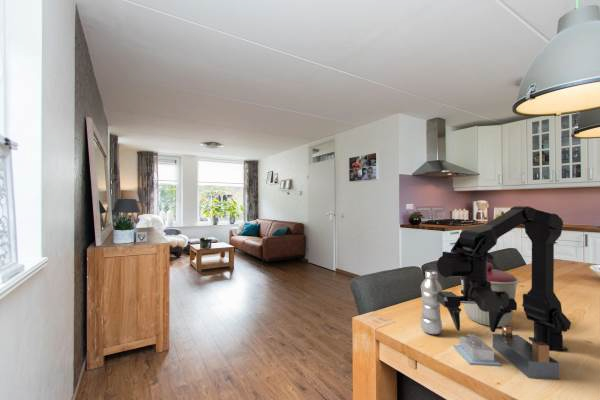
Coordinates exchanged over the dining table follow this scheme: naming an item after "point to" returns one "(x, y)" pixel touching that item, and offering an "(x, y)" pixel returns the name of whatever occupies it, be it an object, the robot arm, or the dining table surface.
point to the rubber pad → (475, 361)
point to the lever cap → (476, 348)
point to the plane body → (526, 355)
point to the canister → (498, 283)
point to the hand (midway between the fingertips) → (475, 330)
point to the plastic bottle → (431, 304)
